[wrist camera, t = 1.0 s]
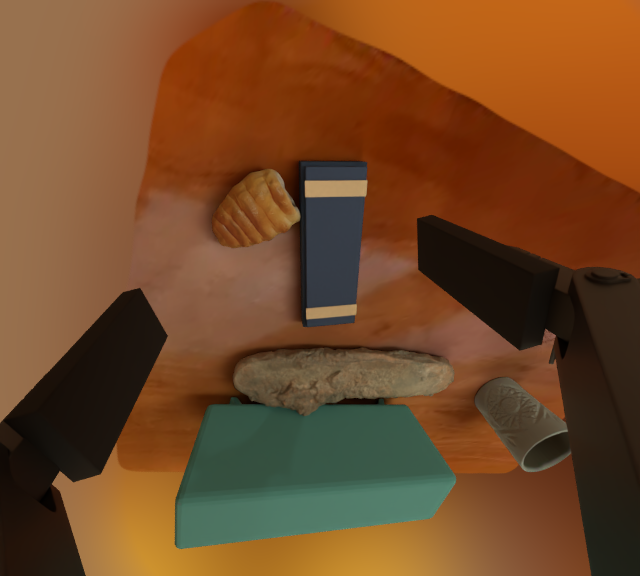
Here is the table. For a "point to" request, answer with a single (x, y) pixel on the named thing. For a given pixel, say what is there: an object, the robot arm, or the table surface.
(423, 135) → the table surface
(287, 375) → the long grey stone
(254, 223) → the pastry
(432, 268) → the robot arm
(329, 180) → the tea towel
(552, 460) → the grey stone cup
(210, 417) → the teal bluetooth speaker
